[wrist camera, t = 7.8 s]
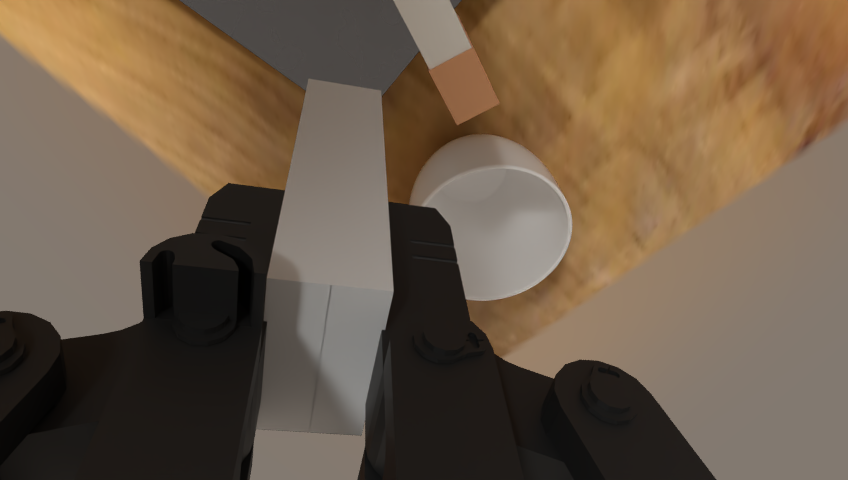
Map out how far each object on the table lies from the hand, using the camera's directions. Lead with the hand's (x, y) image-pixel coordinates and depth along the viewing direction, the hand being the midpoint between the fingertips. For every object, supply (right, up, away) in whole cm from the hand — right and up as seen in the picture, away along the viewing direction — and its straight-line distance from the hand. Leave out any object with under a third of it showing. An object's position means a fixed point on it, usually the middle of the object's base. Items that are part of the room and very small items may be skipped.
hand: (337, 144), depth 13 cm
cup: (+4, +1, +22) cm, 22 cm away
